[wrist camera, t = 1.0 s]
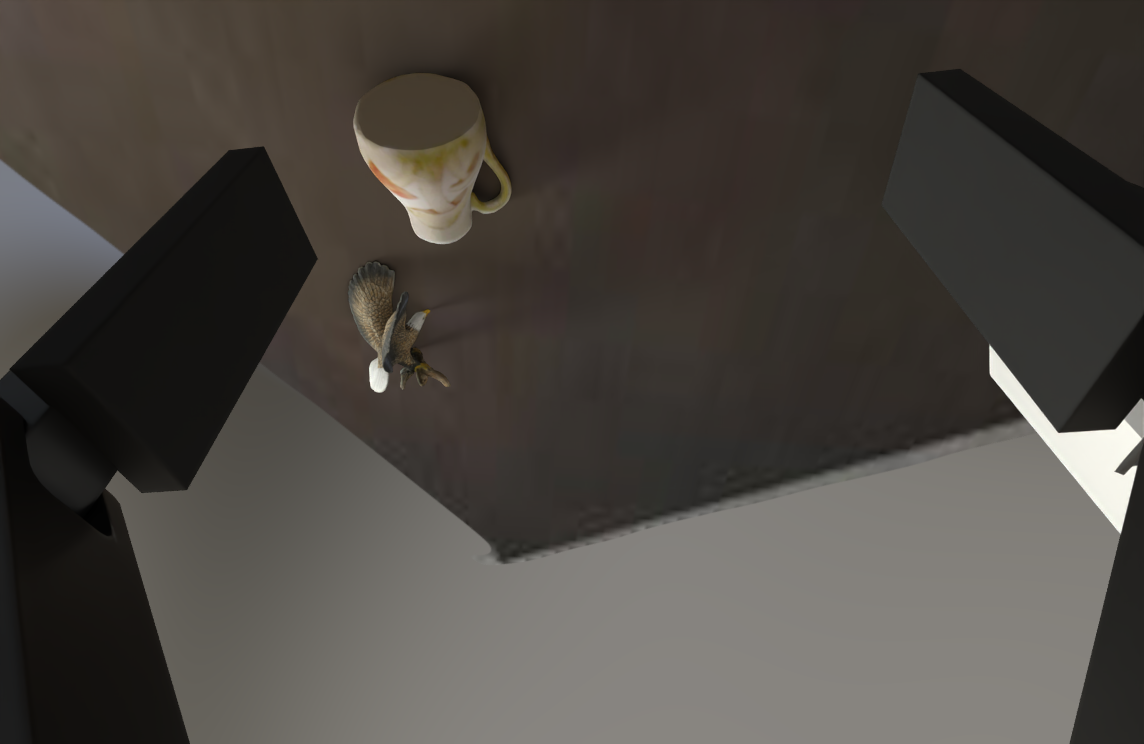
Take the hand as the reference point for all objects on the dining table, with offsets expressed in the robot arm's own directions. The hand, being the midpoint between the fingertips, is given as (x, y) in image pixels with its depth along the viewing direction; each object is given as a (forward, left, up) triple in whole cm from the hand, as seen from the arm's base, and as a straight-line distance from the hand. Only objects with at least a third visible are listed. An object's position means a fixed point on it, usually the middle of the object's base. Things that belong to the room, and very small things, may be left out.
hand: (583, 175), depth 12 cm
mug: (+9, -10, -25) cm, 28 cm away
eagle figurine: (+21, -17, -25) cm, 37 cm away
